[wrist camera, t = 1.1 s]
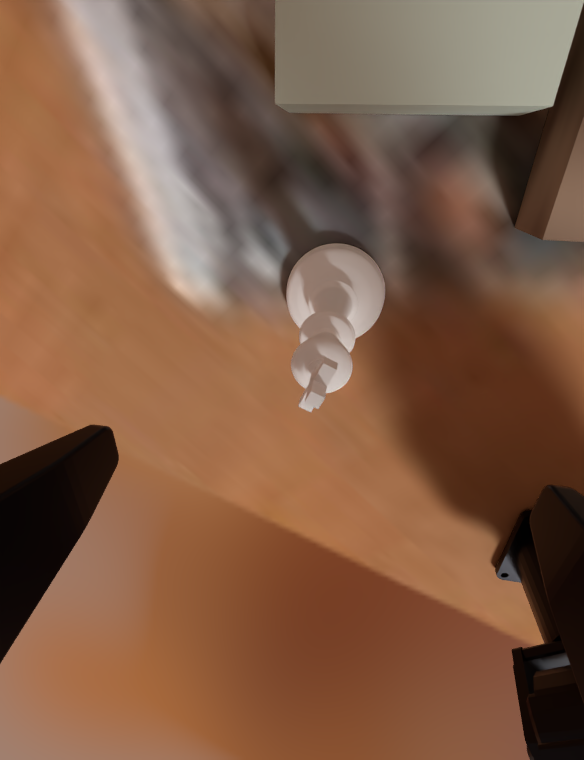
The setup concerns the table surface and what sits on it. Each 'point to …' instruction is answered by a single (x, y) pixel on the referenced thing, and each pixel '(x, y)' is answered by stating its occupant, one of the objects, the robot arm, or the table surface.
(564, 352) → the table surface
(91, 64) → the table surface
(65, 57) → the table surface
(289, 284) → the chess piece
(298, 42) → the sage slab
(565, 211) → the walnut slab
